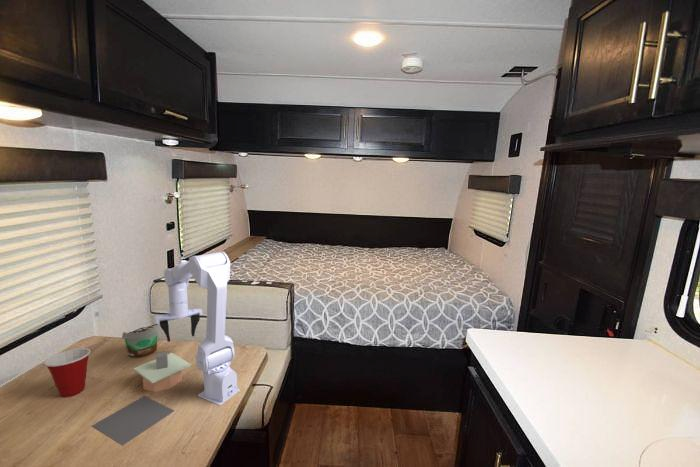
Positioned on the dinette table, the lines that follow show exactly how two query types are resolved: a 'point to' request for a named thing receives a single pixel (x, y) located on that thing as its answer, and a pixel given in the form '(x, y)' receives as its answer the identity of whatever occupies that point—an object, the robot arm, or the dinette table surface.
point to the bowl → (163, 382)
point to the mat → (132, 420)
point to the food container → (141, 341)
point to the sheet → (164, 372)
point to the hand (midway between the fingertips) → (181, 337)
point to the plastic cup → (69, 370)
